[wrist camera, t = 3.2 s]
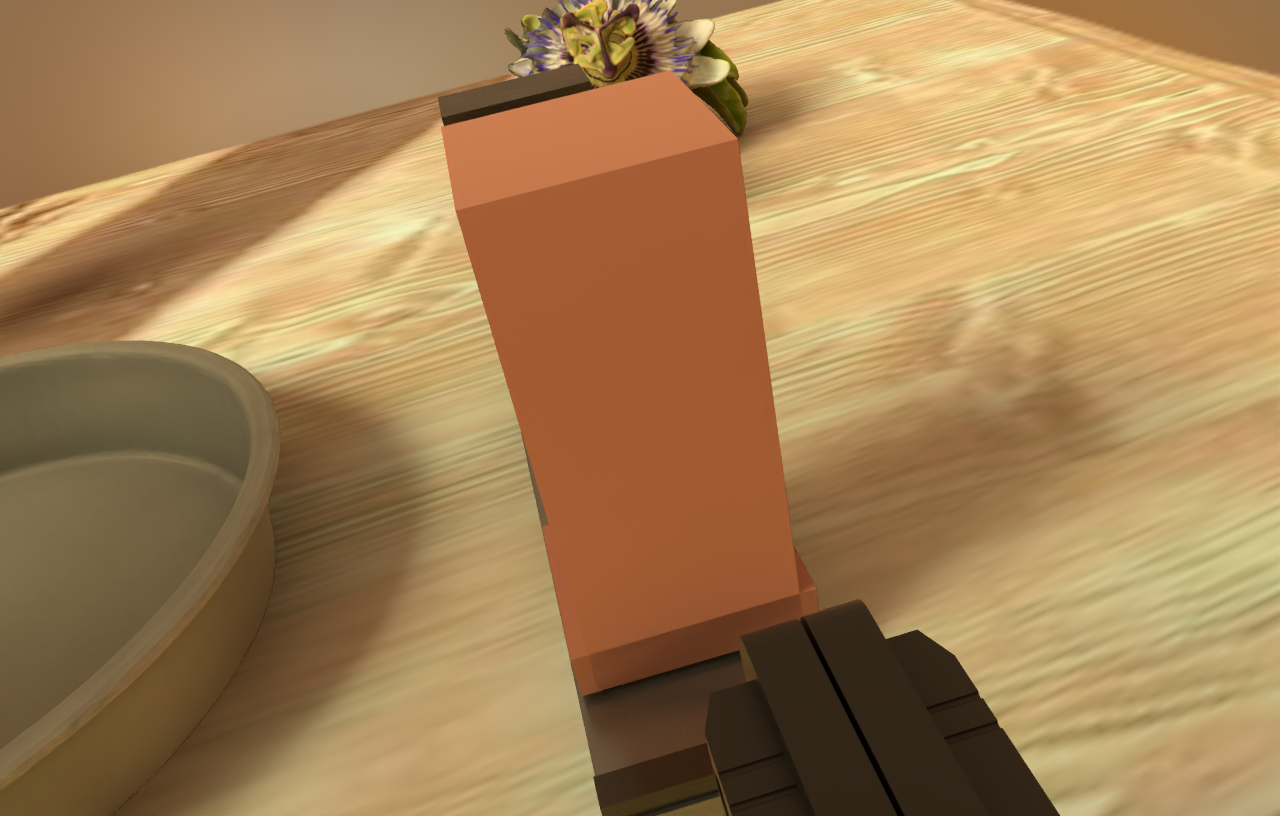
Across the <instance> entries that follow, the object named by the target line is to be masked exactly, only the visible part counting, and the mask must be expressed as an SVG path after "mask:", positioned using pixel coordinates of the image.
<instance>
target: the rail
mask: <svg viewBox="0 0 1280 816" xmlns="http://www.w3.org/2000/svg"><path fill="white" fill-rule="evenodd" d="M589 90H592V87H591V82H590V80H589V78H588V77H587V75H586V74H585V72H584V71H583V69H582V68H581V66H580V65H579V64H578V63H577V64H573V65H569V66H565V67H561V68H557V69H553V70H549V71H545V72H541V73H537V74H532V75H528V76H524V77H520V78H516V79H512V80H508V81H504V82H500V83H496V84H492V85H488V86H484V87H479V88H475V89H471V90H467V91H463V92H459V93H455V94H451V95H447V96H443V97H439V98H438V100H439V106H440V112H441V117H442V121H443V124H444V126H447V125H451V124H455V123H459V122H464V121H468V120H472V119H476V118H480V117H484V116H488V115H492V114H496V113H500V112H504V111H508V110H512V109H516V108H520V107H524V106H528V105H532V104H536V103H540V102H544V101H548V100H552V99H556V98H560V97H564V96H568V95H572V94H577V93H581V92H585V91H589ZM521 433H522V432H521ZM522 438H523V435H522ZM523 443H524V447H525V452H526V457H527V461H528V466H529V471H530V475H531V480H532V484H533V489H534V494H535V498H536V503H537V508H538V512H539V517H540V522H541V526H545V525H549V523H548V519H547V516H546V513H545V509H544V506H543V503H542V499H541V496H540V492H539V489H538V486H537V482H536V479H535V476H534V472H533V469H532V466H531V462H530V459H529V455H528V452H527V449H526V445H525V442H524V439H523ZM542 531H543V529H542ZM543 536H544V534H543ZM544 540H545V539H544ZM545 545H546V543H545ZM546 550H547V548H546ZM547 554H548V553H547ZM548 559H549V557H548ZM549 564H550V562H549ZM550 568H551V567H550ZM551 573H552V571H551ZM552 578H553V576H552ZM553 582H554V580H553ZM554 587H555V585H554ZM555 591H556V590H555ZM556 596H557V594H556ZM557 601H558V599H557ZM558 605H559V604H558ZM559 610H560V608H559ZM560 615H561V613H560ZM561 619H562V618H561ZM562 624H563V622H562ZM563 629H564V627H563ZM564 633H565V632H564ZM565 638H566V636H565ZM566 643H567V641H566ZM567 647H568V645H567ZM568 652H569V650H568ZM569 657H570V655H569ZM570 661H571V659H570ZM571 666H572V663H571ZM572 671H573V675H574V680H575V685H576V689H577V694H578V698H579V703H580V708H581V712H582V717H583V722H584V726H585V731H586V736H587V740H588V745H589V750H590V754H591V759H592V764H593V768H594V773H595V776H594V782H595V787H596V791H597V796H598V801H599V805H600V810H601V813H602V816H725V815H724V811H723V807H722V803H721V799H720V795H719V791H718V787H717V783H716V778H715V774H714V770H713V766H712V762H711V758H710V754H709V750H708V746H707V742H706V738H705V734H704V732H705V725H706V719H707V712H708V705H709V698H710V693H713V692H716V691H720V690H723V689H726V688H730V687H733V686H736V685H739V684H743V683H746V679H745V674H744V669H743V664H742V660H741V655H740V650H738V651H734V652H731V653H728V654H724V655H721V656H717V657H714V658H711V659H707V660H704V661H700V662H697V663H694V664H690V665H687V666H683V667H680V668H677V669H673V670H670V671H666V672H663V673H660V674H656V675H653V676H649V677H646V678H643V679H639V680H636V681H633V682H629V683H626V684H622V685H619V686H616V687H612V688H609V689H605V690H602V691H599V692H595V693H592V694H588V695H585V696H582V695H581V692H580V689H579V685H578V682H577V679H576V676H575V673H574V669H573V666H572Z"/></svg>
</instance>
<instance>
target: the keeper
mask: <svg viewBox="0 0 1280 816" xmlns="http://www.w3.org/2000/svg"><path fill="white" fill-rule="evenodd" d="M441 129H442V135H443V141H444V147H445V152H446V158H447V164H448V170H449V175H450V181H451V187H452V193H453V198H454V204H455V210H456V213H457V217H458V220H459V224H460V227H461V230H462V234H463V237H464V240H465V244H466V247H467V250H468V254H469V257H470V261H471V264H472V267H473V271H474V274H475V277H476V281H477V284H478V287H479V291H480V294H481V298H482V301H483V304H484V308H485V311H486V314H487V318H488V321H489V324H490V328H491V331H492V334H493V338H494V341H495V345H496V348H497V351H498V355H499V358H500V361H501V365H502V368H503V371H504V375H505V378H506V382H507V385H508V388H509V392H510V395H511V398H512V402H513V405H514V408H515V412H516V415H517V419H518V422H519V425H520V429H521V432H522V435H523V439H524V442H525V445H526V449H527V452H528V455H529V459H530V462H531V466H532V469H533V472H534V476H535V479H536V482H537V486H538V489H539V492H540V496H541V499H542V503H543V506H544V509H545V513H546V516H547V519H548V523H549V525H545V526H542V529H543V534H544V539H545V543H546V548H547V553H548V557H549V562H550V567H551V571H552V576H553V580H554V585H555V590H556V594H557V599H558V604H559V608H560V613H561V618H562V622H563V627H564V632H565V636H566V641H567V645H568V650H569V655H570V659H571V663H572V666H573V669H574V673H575V676H576V679H577V682H578V685H579V689H580V692H581V695H582V696H585V695H588V694H592V693H595V692H599V691H602V690H605V689H609V688H612V687H616V686H619V685H622V684H626V683H629V682H633V681H636V680H639V679H643V678H646V677H649V676H653V675H656V674H660V673H663V672H666V671H670V670H673V669H677V668H680V667H683V666H687V665H690V664H694V663H697V662H700V661H704V660H707V659H711V658H714V657H717V656H721V655H724V654H728V653H731V652H734V651H738V650H739V645H738V636H740V635H744V634H747V633H750V632H754V631H757V630H760V629H764V628H767V627H770V626H773V625H777V624H780V623H783V622H787V621H790V620H793V619H798V620H799V621H800V617H802V616H805V615H809V614H812V613H815V612H819V606H818V598H817V590H816V587H815V585H814V583H813V581H812V580H811V578H810V576H809V574H808V572H807V570H806V568H805V566H804V565H803V563H802V561H801V559H800V557H799V555H798V553H797V551H796V550H795V548H794V546H793V540H792V533H791V526H790V518H789V511H788V503H787V496H786V489H785V481H784V474H783V467H782V459H781V452H780V445H779V437H778V430H777V423H776V415H775V408H774V400H773V393H772V386H771V378H770V371H769V364H768V356H767V349H766V342H765V334H764V327H763V319H762V312H761V305H760V297H759V290H758V283H757V275H756V268H755V261H754V253H753V246H752V238H751V231H750V224H749V216H748V209H747V202H746V194H745V187H744V180H743V172H742V165H741V158H740V150H739V143H738V138H737V137H736V136H735V135H734V134H733V133H732V132H731V131H730V130H729V129H728V128H727V127H726V126H725V125H724V124H723V123H722V122H721V121H720V120H719V119H718V118H717V117H716V116H715V115H714V114H713V113H712V112H711V111H710V110H709V109H708V108H707V107H706V106H705V104H704V103H703V102H702V101H701V100H700V99H699V98H698V97H697V96H696V95H695V94H694V93H693V92H692V91H691V90H690V89H689V88H688V87H687V86H686V85H685V84H684V83H683V82H682V81H681V80H680V79H679V78H678V77H677V76H676V75H675V74H674V73H673V72H672V71H671V70H669V71H665V72H661V73H657V74H653V75H649V76H645V77H641V78H637V79H633V80H629V81H625V82H621V83H617V84H613V85H609V86H605V87H601V88H597V89H593V90H589V91H585V92H581V93H577V94H572V95H568V96H564V97H560V98H556V99H552V100H548V101H544V102H540V103H536V104H532V105H528V106H524V107H520V108H516V109H512V110H508V111H504V112H500V113H496V114H492V115H488V116H484V117H480V118H476V119H472V120H468V121H464V122H459V123H455V124H451V125H447V126H443V127H441Z"/></svg>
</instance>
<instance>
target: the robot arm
mask: <svg viewBox="0 0 1280 816" xmlns="http://www.w3.org/2000/svg"><path fill="white" fill-rule="evenodd" d="M738 645H739V650H740V655H741V660H742V664H743V669H744V674H745V679H746V683H743V684H739V685H736V686H733V687H730V688H726V689H723V690H720V691H716V692H713V693H710V698H709V705H708V712H707V719H706V725H705V732H704V734H705V738H706V742H707V746H708V750H709V754H710V758H711V762H712V766H713V770H714V774H715V778H716V783H717V787H718V791H719V795H720V799H721V803H722V807H723V811H724V815H725V816H1060V815H1059V813H1058V812H1057V810H1056V809H1055V807H1054V806H1053V804H1052V803H1051V801H1050V800H1049V798H1048V797H1047V795H1046V794H1045V792H1044V791H1043V789H1042V788H1041V786H1040V785H1039V783H1038V781H1037V780H1036V778H1035V777H1034V775H1033V774H1032V772H1031V771H1030V769H1029V768H1028V766H1027V765H1026V763H1025V762H1024V760H1023V759H1022V757H1021V756H1020V754H1019V753H1018V751H1017V750H1016V748H1015V746H1014V745H1013V743H1012V742H1011V740H1010V739H1009V737H1008V736H1007V734H1006V733H1005V731H1004V730H1003V728H1000V727H999V725H998V722H997V719H996V718H995V716H994V715H993V713H992V711H991V710H990V708H989V707H988V705H987V704H986V702H985V701H984V699H983V698H982V699H981V698H980V696H979V693H978V690H977V689H976V687H975V686H974V684H973V683H972V681H971V680H970V678H969V677H968V675H967V673H966V672H965V670H964V669H963V667H962V666H961V664H960V663H959V661H958V660H957V658H956V657H955V655H953V654H952V653H950V652H949V651H948V650H946V649H945V648H943V647H942V646H940V645H939V644H937V643H936V642H935V641H933V640H932V639H930V638H929V637H927V636H926V635H924V634H923V633H922V632H920V631H919V630H915V631H911V632H908V633H905V634H901V635H898V636H895V637H892V638H888V639H885V637H884V636H883V634H882V632H881V631H880V629H879V627H878V625H877V624H876V622H875V620H874V619H873V617H872V615H871V614H870V612H869V610H868V609H867V607H866V606H865V604H864V603H863V602H862V601H861V600H859V599H858V600H855V601H852V602H848V603H845V604H842V605H838V606H835V607H832V608H829V609H825V610H822V611H819V612H815V613H812V614H809V615H805V616H802V617H800V621H799V620H798V619H793V620H790V621H787V622H783V623H780V624H777V625H773V626H770V627H767V628H764V629H760V630H757V631H754V632H750V633H747V634H744V635H740V636H738Z"/></svg>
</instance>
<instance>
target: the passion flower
mask: <svg viewBox="0 0 1280 816" xmlns="http://www.w3.org/2000/svg"><path fill="white" fill-rule="evenodd" d="M676 1H677V0H630V1H629V2H626V0H557V4H556V7H555V8H554V9H553V10H550V9H549V8H545V9H544V12H543V14H542V17H539V16H535V15H531V14H529V15H526V16H524V17H522V20H521V24H522V26H523V29H524V35H523V37H522V39H519V38H518V35H516V34H515V33H514V32H512V30H510V29H509V28H506V29H505V32H506V33H505V34H506V35H507V38H508V40H509V41H510V42H511V43H512V44H513V45H514V46H515V47H517V48H518V49H519V50H520V52H521V58H519V60H517V61H516V62H515V63H512V64H509V66H508V67H509V71H510V72H511V73H512V74H514V75H515V76H518V77H524V76H528V75H532V74H537V73H541V72H545V71H549V70H553V69H557V68H561V67H565V66H569V65H573V64H577V63H578V64H579V65H580V66H581V68H582V69H583V71H584V72H585V74H586V75H587V77H588V78H589V80H590V82H591V87H592V90H593V89H597V88H601V87H605V86H609V85H613V84H617V83H621V82H625V81H629V80H633V79H637V78H641V77H645V76H649V75H653V74H657V73H661V72H665V71H669V70H671V71H672V72H673V73H674V74H675V75H676V76H677V77H678V78H679V79H680V80H681V81H682V82H683V83H684V84H685V85H686V86H687V87H688V88H689V89H690V90H691V91H692V92H693V93H694V94H695V95H697V96H698V97H699V98H701V99H702V100H703V101H704V102H706V103H707V104H708V105H710V106H711V107H712V108H713V109H715V110H716V111H717V112H718V113H719V115H720V116H721V117H722V118H723V119H724V121H725V122H726V123H727V124H728V125H729V126H730V128H731V129H732V130H733V131H734V132H735V133H738V134H739V135H741V133H743V131H744V128H745V125H746V115H747V112H746V109H745V107H746V106H747V105H748V98H747V95H746V93H745V92H744V90H743V89H742V88H741V86H740V85H739V84H738V83H737V82H736V81H735V80H738V78H739V75H738V70H737V68H736V66H735V65H734V64H733V63H732V61H731V60H730V59H729V57H728V56H727V55H726V54H725V53H724V52H723V51H722V50H721V49H720V48H718V47H716V46H715V45H714V44H713V43H712V42H711V41H710V40H709V38H710V37H711V35H712V33H713V31H714V29H715V23H714V22H713V21H712V20H709V19H696V20H692V21H683V22H677V21H676V19H675V18H674V17H675V16H676V15H677V13H678V12H675V13H674V14H673V15H669V14H670V12H671V11H672V9H673V8H674V6H675V4H676ZM529 41H530V43H529Z"/></svg>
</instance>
